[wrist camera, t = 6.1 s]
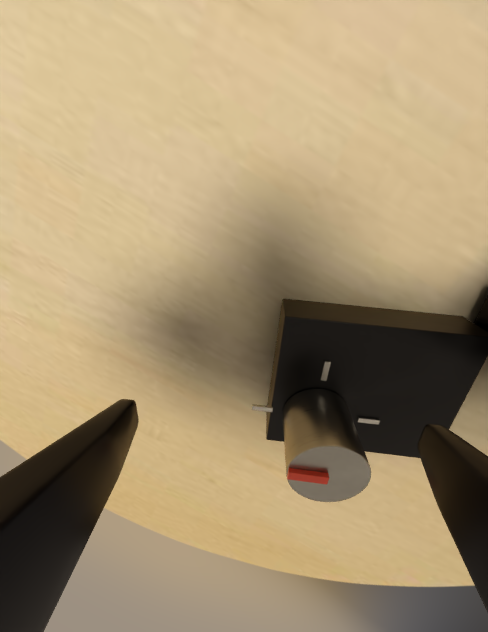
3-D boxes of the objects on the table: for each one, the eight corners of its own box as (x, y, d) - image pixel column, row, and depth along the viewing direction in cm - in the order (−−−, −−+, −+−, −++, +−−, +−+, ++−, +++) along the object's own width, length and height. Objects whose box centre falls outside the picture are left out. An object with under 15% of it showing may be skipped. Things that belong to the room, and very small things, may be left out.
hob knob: (355, 392, 18) (384, 457, 13) (340, 441, 19) (361, 513, 15) (287, 384, 18) (293, 446, 13) (278, 433, 20) (281, 502, 15)
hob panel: (463, 316, 18) (499, 339, 15) (407, 438, 23) (428, 474, 20) (263, 296, 19) (262, 315, 16) (249, 420, 23) (247, 451, 20)
